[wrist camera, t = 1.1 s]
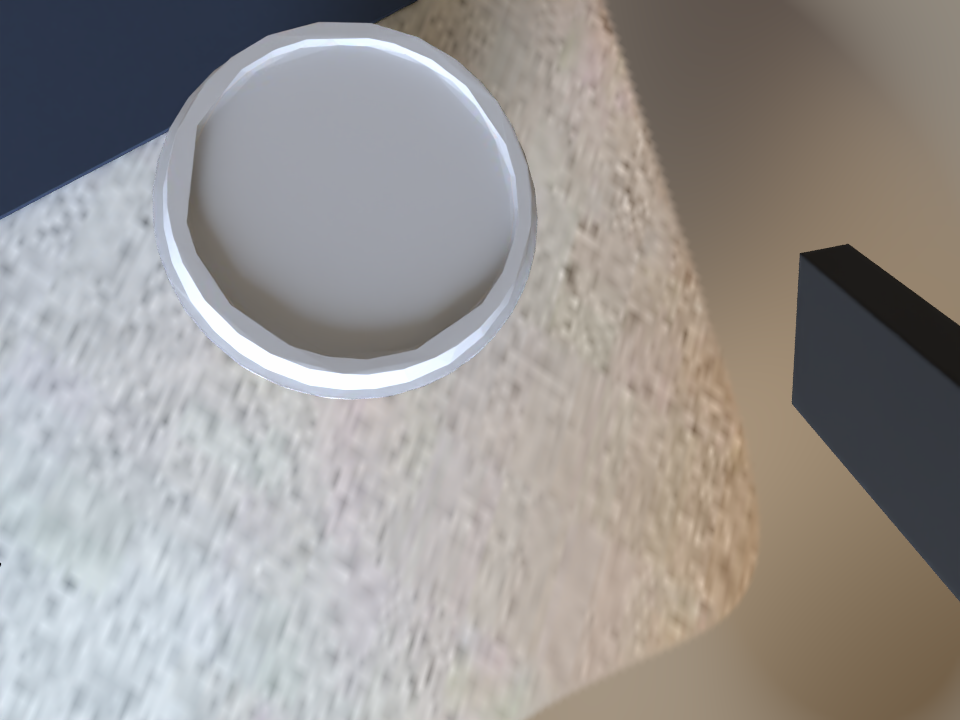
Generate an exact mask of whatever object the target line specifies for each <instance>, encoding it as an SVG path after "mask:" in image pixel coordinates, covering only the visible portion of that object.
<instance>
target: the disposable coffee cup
mask: <svg viewBox="0 0 960 720" xmlns="http://www.w3.org/2000/svg"><path fill="white" fill-rule="evenodd" d="M153 223H154V231H155V237H156V242H157V247H158V252H159V255H160V258H161V261H162V263H163V266H164V269H165V272H166V275H167V278H168V280H169V281H170V283H171V285H172V287H173V289H174V291H175V293H176V295H177V297H178V299H179V301H180V303H181V305H182V306H183V308H184V310H185V311H186V312H187V313H188V315H189V316H190V317H191V318H192V319H193V321H194V322H195V323H196V324H197V325H198V327H199V328H200V329H201V330H202V331H203V333H204V334H205V335H206V336H207V337H208V339H209V340H211V341H212V342H213V343H214V344H215V345H217V346H218V347H219V348H220V349H221V350H222V351H224V352H225V353H226V354H227V355H228V356H230V357H231V358H232V359H233V360H234V361H236V362H237V363H238V364H239V365H241V366H242V367H244V368H246V369H247V370H249V371H251V372H252V373H254V374H256V375H258V376H261V377H263V378H265V379H267V380H269V381H271V382H273V383H275V384H277V385H279V386H282V387H285V388H289V389H292V390H295V391H299V392H303V393H307V394H310V395H314V396H319V397H326V398H334V399H365V398H379V397H388V396H393V395H396V394H399V393H403V392H406V391H409V390H413V389H416V388H419V387H423V386H426V385H428V384H430V383H432V382H434V381H436V380H438V379H440V378H442V377H444V376H446V375H448V374H450V373H451V372H453V371H454V370H456V369H457V368H459V367H460V366H461V365H463V364H464V363H466V362H467V361H468V360H470V359H471V358H473V357H474V356H476V355H477V354H478V353H479V352H480V351H481V350H482V349H483V348H484V347H485V346H486V345H487V344H488V343H489V342H490V341H491V340H492V339H493V337H494V336H495V335H496V334H497V332H498V331H499V330H500V328H501V327H502V326H503V324H504V323H505V322H506V321H507V319H508V318H509V317H510V315H511V313H512V312H513V310H514V308H515V306H516V304H517V302H518V300H519V298H520V296H521V294H522V292H523V290H524V287H525V284H526V282H527V279H528V277H529V273H530V269H531V265H532V261H533V257H534V253H535V247H536V233H537V208H536V198H535V188H534V185H533V181H532V178H531V174H530V170H529V167H528V163H527V160H526V156H525V153H524V151H523V149H522V147H521V145H520V143H519V141H518V139H517V136H516V133H515V130H514V128H513V126H512V125H511V123H510V121H509V120H508V118H507V116H506V115H505V113H504V111H503V110H502V108H501V106H500V105H499V103H498V102H497V100H496V99H495V98H494V97H493V96H492V94H491V93H490V92H489V91H488V89H487V88H486V87H485V86H484V85H483V83H482V82H481V81H480V80H478V79H477V78H476V77H475V76H474V75H473V74H472V73H471V72H470V71H468V70H467V69H466V68H465V67H464V66H463V65H462V64H461V63H460V62H459V61H457V60H456V59H455V58H453V57H451V56H449V55H448V54H446V53H444V52H443V51H441V50H439V49H437V48H436V47H434V46H432V45H431V44H429V43H427V42H425V41H424V40H422V39H420V38H419V37H415V36H412V35H409V34H405V33H402V32H399V31H396V30H392V29H389V28H386V27H382V26H379V25H376V24H372V23H340V22H317V23H313V24H309V25H306V26H302V27H298V28H294V29H291V30H287V31H283V32H279V33H276V34H272V35H268V36H266V37H265V38H263V39H261V40H260V41H258V42H256V43H255V44H253V45H251V46H250V47H248V48H246V49H245V50H243V51H241V52H240V53H238V54H236V55H235V56H233V57H231V58H230V59H229V60H228V61H227V62H226V63H225V64H223V65H222V66H220V67H219V68H217V69H216V70H214V71H213V72H212V73H211V74H210V75H209V76H208V77H207V79H206V80H205V81H204V82H203V83H202V84H201V85H200V86H199V87H198V88H197V89H196V90H195V91H194V92H193V93H192V94H191V95H190V97H189V98H188V99H187V101H186V102H185V104H184V106H183V107H182V109H181V111H180V112H179V114H178V115H177V117H176V119H175V120H174V122H173V124H172V125H171V127H170V128H169V131H168V134H167V136H166V139H165V142H164V145H163V148H162V151H161V153H160V156H159V159H158V163H157V169H156V175H155V181H154V187H153Z"/></svg>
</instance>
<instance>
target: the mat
mask: <svg viewBox="0 0 960 720" xmlns="http://www.w3.org/2000/svg"><path fill="white" fill-rule="evenodd" d="M415 1H417V0H0V219H2V218H4V217H6V216H8V215H10V214H12V213H13V212H15V211H17V210H19V209H21V208H23V207H25V206H27V205H29V204H31V203H32V202H34V201H36V200H38V199H40V198H42V197H44V196H46V195H48V194H50V193H52V192H53V191H55V190H57V189H59V188H61V187H63V186H65V185H67V184H69V183H71V182H72V181H74V180H76V179H78V178H80V177H82V176H84V175H86V174H88V173H90V172H92V171H93V170H95V169H97V168H99V167H101V166H103V165H105V164H107V163H109V162H111V161H112V160H114V159H116V158H118V157H120V156H122V155H124V154H126V153H128V152H130V151H132V150H133V149H135V148H137V147H139V146H141V145H143V144H145V143H147V142H149V141H151V140H152V139H154V138H156V137H158V136H160V135H162V134H164V133H166V132H168V131H169V128H170V127H171V125H172V124H173V122H174V120H175V119H176V117H177V115H178V114H179V112H180V111H181V109H182V107H183V106H184V104H185V102H186V101H187V99H188V98H189V97H190V95H191V94H192V93H193V92H194V91H195V90H196V89H197V88H198V87H199V86H200V85H201V84H202V83H203V82H204V81H205V80H206V79H207V77H208V76H209V75H210V74H211V73H212V72H213V71H214V70H216V69H217V68H219V67H220V66H222V65H223V64H225V63H226V62H227V61H228V60H229V59H230V58H231V57H233V56H235V55H236V54H238V53H240V52H241V51H243V50H245V49H246V48H248V47H250V46H251V45H253V44H255V43H256V42H258V41H260V40H261V39H263V38H265V37H266V36H268V35H272V34H276V33H279V32H283V31H287V30H291V29H294V28H298V27H302V26H306V25H309V24H313V23H317V22H340V23H372V24H373V23H375V22H377V21H379V20H381V19H383V18H385V17H387V16H389V15H391V14H393V13H394V12H396V11H398V10H400V9H402V8H404V7H406V6H408V5H410V4H412V3H414V2H415Z"/></svg>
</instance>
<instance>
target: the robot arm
mask: <svg viewBox="0 0 960 720" xmlns="http://www.w3.org/2000/svg"><path fill="white" fill-rule="evenodd" d="M792 404H793V405H794V407H795V408H796V409H797V410H798V411H799V413H800V414H801V415H802V416H803V417H804V418H805V419H806V421H807V422H808V423H809V424H810V426H811V427H812V428H813V429H814V430H815V431H816V432H817V434H818V435H819V436H820V437H821V438H822V440H823V441H824V442H825V443H826V444H827V446H828V447H829V448H830V449H831V450H832V452H833V453H834V454H835V455H836V456H837V457H838V459H839V460H840V461H841V462H842V463H843V465H844V466H845V467H846V468H847V469H848V470H849V472H850V473H851V474H852V475H853V476H854V477H855V479H856V480H857V481H858V482H859V483H860V485H861V486H862V487H863V488H864V489H865V490H866V492H867V493H868V494H869V495H870V496H871V498H872V499H873V500H874V501H875V502H876V503H877V504H878V506H879V507H880V508H881V509H882V510H883V512H884V513H885V514H886V515H887V516H888V518H889V519H890V520H891V521H892V522H893V523H894V524H895V526H896V527H897V528H898V529H899V531H900V532H901V533H902V534H903V535H904V536H905V538H906V539H907V540H908V541H909V542H910V543H911V544H912V546H913V547H914V548H915V549H916V551H917V552H918V553H919V554H920V555H921V556H922V558H923V559H924V560H925V561H926V562H927V564H928V565H929V566H930V567H931V568H932V569H933V571H934V572H935V573H936V574H937V575H938V576H939V578H940V579H941V580H942V581H943V582H944V584H945V585H946V586H947V587H948V588H949V589H950V590H951V592H952V593H953V594H954V595H955V596H956V598H957V599H958V600H959V601H960V326H959V325H958V324H957V323H955V322H954V321H952V320H951V319H950V318H948V317H947V316H946V315H944V314H943V313H941V312H940V311H939V310H937V309H936V308H935V307H933V306H932V305H931V304H929V303H928V302H927V301H925V300H924V299H923V298H921V297H920V296H918V295H917V294H916V293H914V292H913V291H912V290H910V289H909V288H907V287H906V286H905V285H903V284H902V283H901V282H899V281H898V280H897V279H895V278H894V277H893V276H891V275H890V274H889V273H887V272H886V271H884V270H883V269H882V268H880V267H879V266H878V265H876V264H875V263H873V262H872V261H871V260H869V259H868V258H867V257H865V256H864V255H863V254H861V253H860V252H858V251H857V250H856V249H854V248H853V247H852V246H850V245H849V244H846V245H841V246H835V247H830V248H825V249H820V250H815V251H810V252H804V253H800V262H799V280H798V298H797V316H796V337H795V355H794V372H793V391H792ZM0 566H1V563H0Z"/></svg>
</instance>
